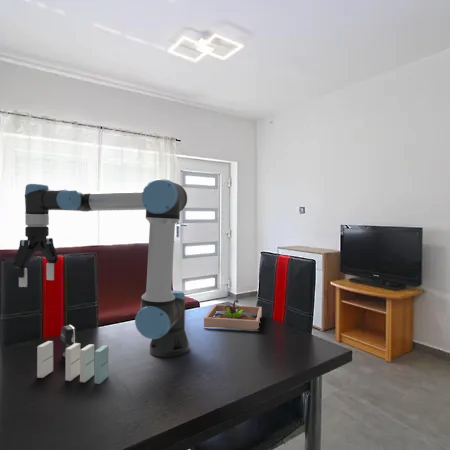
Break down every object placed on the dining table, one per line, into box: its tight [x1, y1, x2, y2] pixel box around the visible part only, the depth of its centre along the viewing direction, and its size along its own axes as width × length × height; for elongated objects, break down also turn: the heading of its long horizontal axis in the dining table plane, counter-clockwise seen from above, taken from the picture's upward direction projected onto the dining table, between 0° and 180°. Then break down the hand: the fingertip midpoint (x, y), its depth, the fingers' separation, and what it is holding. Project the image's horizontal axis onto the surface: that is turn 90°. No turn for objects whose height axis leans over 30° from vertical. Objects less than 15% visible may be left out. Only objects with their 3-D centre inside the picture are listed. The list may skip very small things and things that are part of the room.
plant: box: [214, 299, 256, 320], centre depth 164 cm, size 20×20×11 cm
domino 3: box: [94, 345, 109, 385], centre depth 104 cm, size 2×5×10 cm, turn 170°
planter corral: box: [203, 304, 263, 329], centre depth 164 cm, size 25×25×5 cm
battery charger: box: [60, 324, 77, 360], centre depth 120 cm, size 7×4×11 cm, turn 42°
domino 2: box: [79, 343, 95, 383], centre depth 105 cm, size 2×5×10 cm, turn 170°
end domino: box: [36, 340, 54, 379], centre depth 107 cm, size 2×5×10 cm, turn 170°
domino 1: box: [64, 342, 81, 382], centre depth 105 cm, size 2×5×10 cm, turn 170°
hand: (37, 283), depth 122 cm, fingers open, 13 cm apart
